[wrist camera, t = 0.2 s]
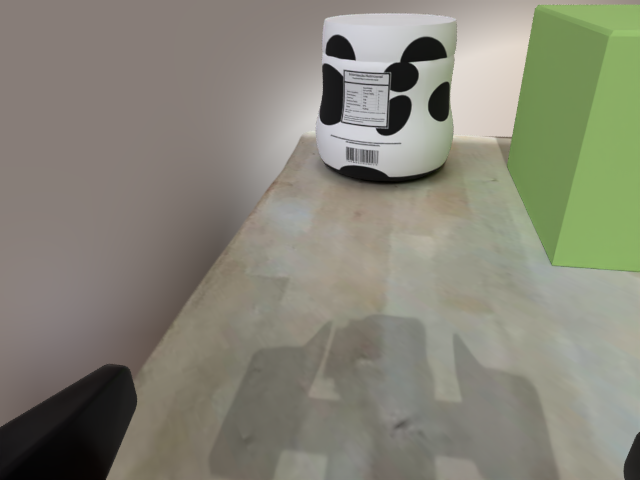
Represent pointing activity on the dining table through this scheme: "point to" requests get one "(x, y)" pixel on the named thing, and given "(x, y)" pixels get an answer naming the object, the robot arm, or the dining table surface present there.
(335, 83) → the milk container
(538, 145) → the canister
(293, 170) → the dining table surface
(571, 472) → the dining table surface
